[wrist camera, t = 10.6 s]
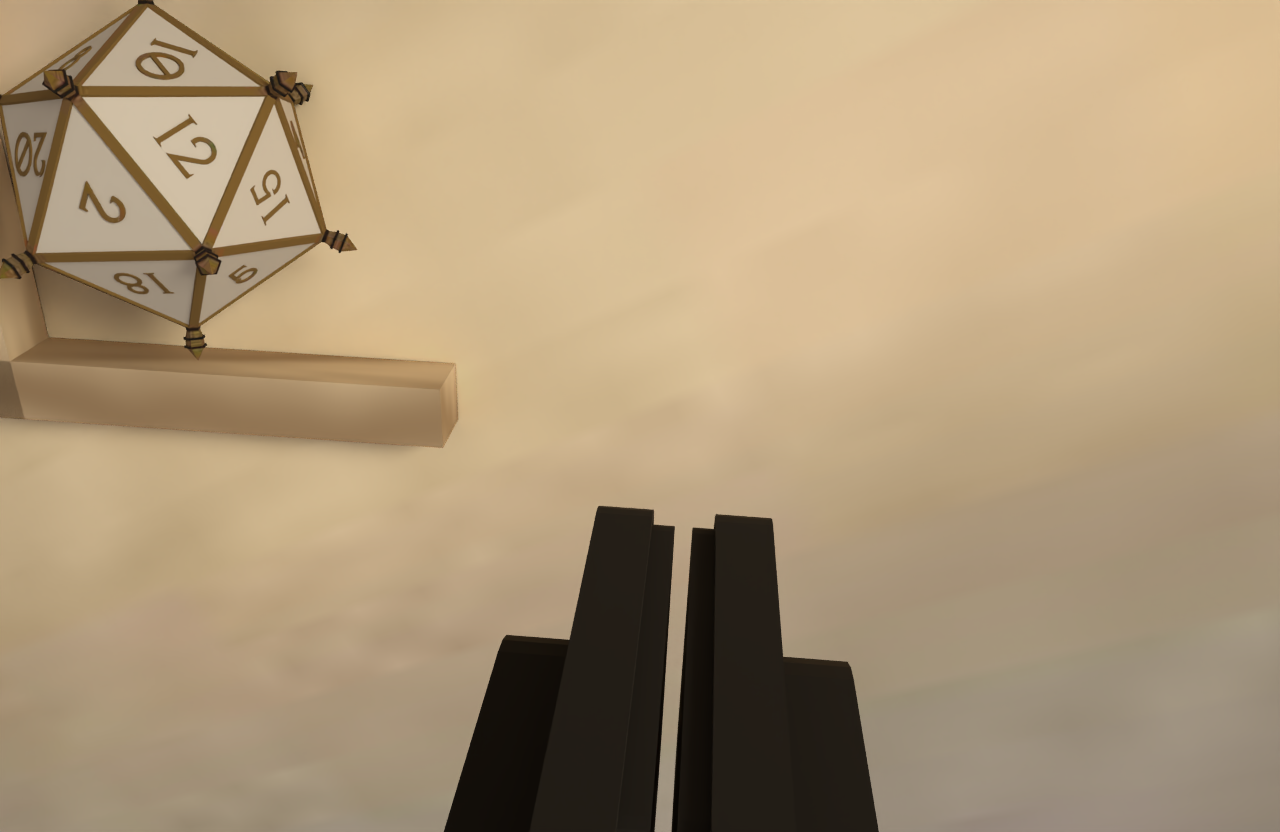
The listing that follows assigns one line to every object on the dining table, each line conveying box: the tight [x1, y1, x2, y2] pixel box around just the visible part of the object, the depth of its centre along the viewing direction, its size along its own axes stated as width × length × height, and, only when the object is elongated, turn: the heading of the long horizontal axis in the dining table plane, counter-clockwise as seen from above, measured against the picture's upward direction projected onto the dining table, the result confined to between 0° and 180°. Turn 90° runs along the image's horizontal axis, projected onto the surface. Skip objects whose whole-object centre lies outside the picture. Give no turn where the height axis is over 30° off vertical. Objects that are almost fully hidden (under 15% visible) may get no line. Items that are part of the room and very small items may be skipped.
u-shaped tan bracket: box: [0, 137, 458, 448], centre depth 29 cm, size 17×16×2 cm
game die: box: [0, 0, 357, 360], centre depth 26 cm, size 9×8×10 cm
